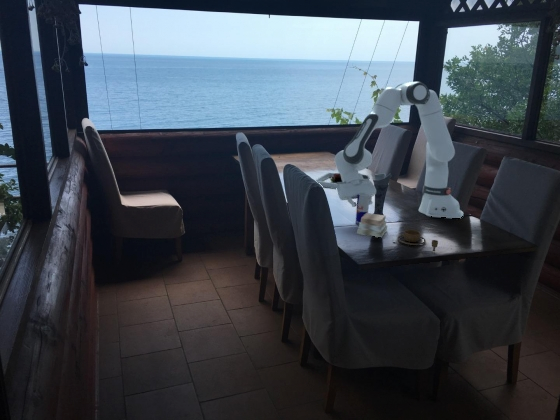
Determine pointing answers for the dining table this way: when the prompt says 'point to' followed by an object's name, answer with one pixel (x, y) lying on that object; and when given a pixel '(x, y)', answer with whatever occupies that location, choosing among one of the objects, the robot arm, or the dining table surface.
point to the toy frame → (326, 184)
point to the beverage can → (362, 206)
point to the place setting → (415, 238)
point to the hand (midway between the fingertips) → (362, 205)
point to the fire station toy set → (336, 178)
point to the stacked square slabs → (372, 225)
